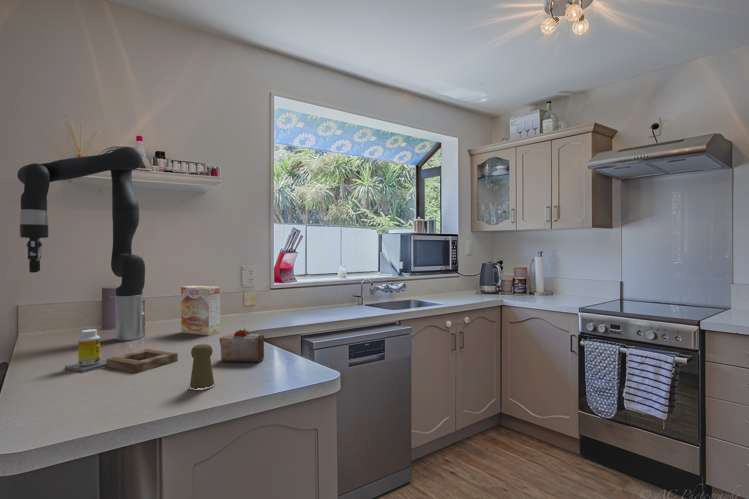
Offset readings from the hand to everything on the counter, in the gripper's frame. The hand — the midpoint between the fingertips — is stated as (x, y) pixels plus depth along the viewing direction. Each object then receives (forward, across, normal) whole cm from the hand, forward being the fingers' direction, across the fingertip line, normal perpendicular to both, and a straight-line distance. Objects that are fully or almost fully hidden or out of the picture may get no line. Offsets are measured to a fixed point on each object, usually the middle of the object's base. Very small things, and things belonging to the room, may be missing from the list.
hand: (34, 271), depth 145 cm
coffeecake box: (+28, +6, -54) cm, 62 cm away
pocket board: (+28, -33, -28) cm, 52 cm away
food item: (+28, -47, -55) cm, 78 cm away
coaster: (+28, -27, -15) cm, 42 cm away
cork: (+28, -67, -38) cm, 82 cm away
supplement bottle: (+28, -27, -15) cm, 41 cm away
